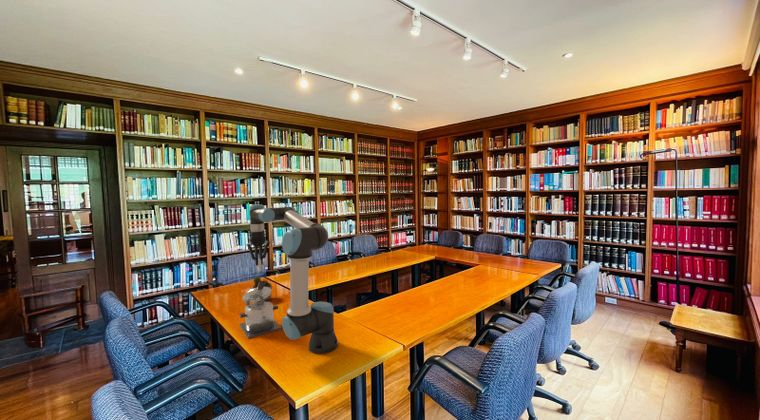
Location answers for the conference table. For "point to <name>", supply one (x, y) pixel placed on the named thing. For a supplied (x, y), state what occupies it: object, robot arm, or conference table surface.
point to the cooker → (259, 319)
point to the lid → (257, 293)
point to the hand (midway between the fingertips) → (259, 270)
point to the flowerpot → (256, 281)
